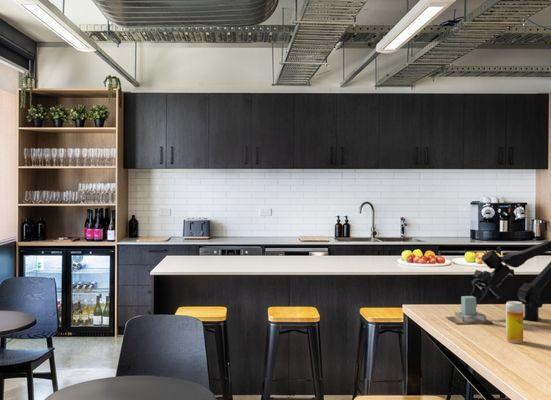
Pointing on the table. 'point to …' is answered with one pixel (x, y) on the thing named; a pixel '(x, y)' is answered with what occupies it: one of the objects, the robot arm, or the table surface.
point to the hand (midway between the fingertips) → (474, 301)
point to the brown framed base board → (469, 319)
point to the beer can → (514, 322)
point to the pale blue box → (468, 306)
